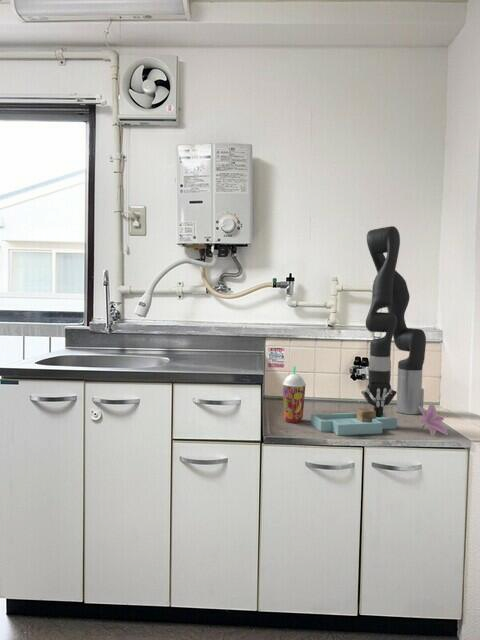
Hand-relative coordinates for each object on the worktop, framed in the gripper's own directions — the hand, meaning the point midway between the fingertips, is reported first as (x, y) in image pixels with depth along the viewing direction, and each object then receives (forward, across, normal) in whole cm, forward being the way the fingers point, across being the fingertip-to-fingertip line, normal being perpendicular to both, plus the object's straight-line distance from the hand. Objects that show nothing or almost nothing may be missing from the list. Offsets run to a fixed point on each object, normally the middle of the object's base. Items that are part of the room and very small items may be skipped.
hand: (378, 416), depth 186 cm
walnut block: (+1, +4, 0) cm, 5 cm away
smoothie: (+3, +28, -10) cm, 30 cm away
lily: (+3, -13, +12) cm, 18 cm away
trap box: (+3, +9, +2) cm, 10 cm away
